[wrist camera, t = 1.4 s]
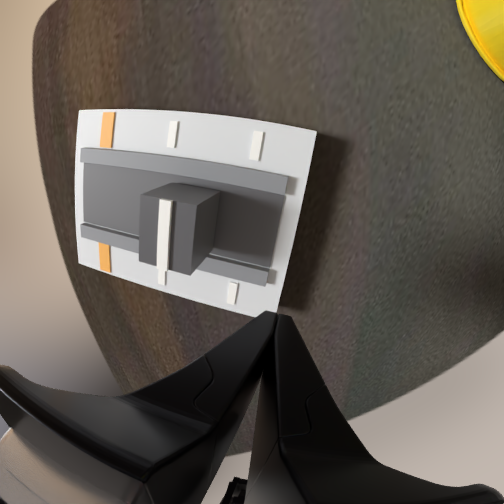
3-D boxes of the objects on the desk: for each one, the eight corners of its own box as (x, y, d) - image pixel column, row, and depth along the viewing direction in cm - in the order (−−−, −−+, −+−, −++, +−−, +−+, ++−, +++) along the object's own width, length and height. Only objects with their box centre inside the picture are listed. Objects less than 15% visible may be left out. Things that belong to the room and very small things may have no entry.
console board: (277, 305, 21) (272, 326, 19) (93, 253, 23) (75, 265, 21) (316, 132, 16) (316, 131, 14) (96, 110, 18) (74, 110, 16)
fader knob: (212, 250, 18) (188, 277, 14) (167, 239, 18) (136, 262, 15) (220, 191, 16) (195, 206, 13) (172, 182, 17) (138, 195, 13)
